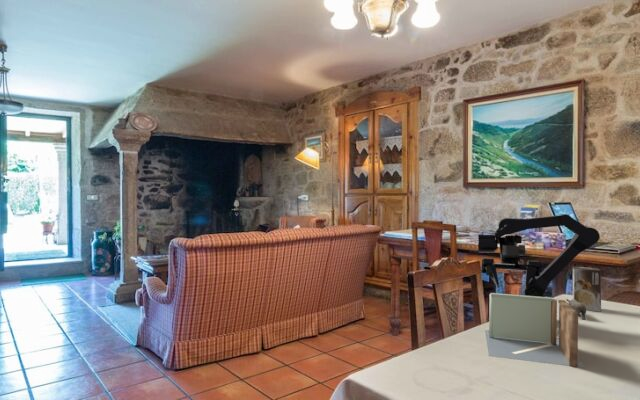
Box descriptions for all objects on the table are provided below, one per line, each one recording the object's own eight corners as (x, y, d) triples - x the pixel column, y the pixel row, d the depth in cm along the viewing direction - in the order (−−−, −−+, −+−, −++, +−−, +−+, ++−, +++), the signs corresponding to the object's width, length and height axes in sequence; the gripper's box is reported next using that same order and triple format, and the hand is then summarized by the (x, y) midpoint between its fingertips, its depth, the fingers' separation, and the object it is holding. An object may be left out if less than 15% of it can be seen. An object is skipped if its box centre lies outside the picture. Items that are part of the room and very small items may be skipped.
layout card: (485, 331, 134) (485, 329, 134) (563, 339, 127) (563, 338, 127) (488, 357, 112) (488, 355, 112) (583, 369, 105) (583, 367, 105)
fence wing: (489, 335, 128) (489, 292, 128) (555, 343, 122) (556, 297, 122) (489, 337, 126) (489, 293, 126) (556, 345, 120) (557, 299, 120)
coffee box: (599, 308, 163) (599, 267, 163) (601, 312, 157) (601, 270, 157) (572, 305, 167) (572, 266, 167) (573, 309, 161) (573, 268, 161)
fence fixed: (557, 346, 120) (558, 298, 120) (564, 346, 120) (565, 298, 119) (570, 366, 106) (571, 312, 105) (578, 367, 105) (579, 313, 105)
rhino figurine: (574, 311, 159) (574, 295, 159) (588, 321, 145) (589, 304, 145) (562, 310, 160) (562, 295, 160) (576, 320, 146) (576, 304, 146)
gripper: (481, 235, 145) (483, 272, 135) (540, 237, 139) (547, 275, 129) (480, 254, 153) (481, 290, 142) (536, 257, 147) (542, 295, 136)
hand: (512, 287), depth 137 cm, fingers open, 8 cm apart
